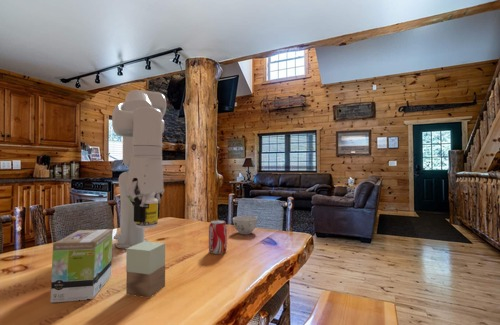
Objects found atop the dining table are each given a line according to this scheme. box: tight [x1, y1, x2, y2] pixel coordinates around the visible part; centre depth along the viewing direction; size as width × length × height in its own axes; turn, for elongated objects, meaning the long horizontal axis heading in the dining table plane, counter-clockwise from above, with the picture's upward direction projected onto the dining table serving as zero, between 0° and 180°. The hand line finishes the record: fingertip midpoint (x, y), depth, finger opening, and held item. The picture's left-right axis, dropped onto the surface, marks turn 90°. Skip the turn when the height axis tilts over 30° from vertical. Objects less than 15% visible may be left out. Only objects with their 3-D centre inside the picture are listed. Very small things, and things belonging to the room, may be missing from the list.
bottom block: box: [125, 264, 166, 299], centre depth 72 cm, size 7×7×6 cm
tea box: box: [49, 228, 113, 303], centre depth 73 cm, size 15×10×15 cm, turn 12°
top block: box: [125, 241, 166, 274], centre depth 72 cm, size 7×7×6 cm
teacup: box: [232, 215, 258, 235], centre depth 134 cm, size 15×12×8 cm
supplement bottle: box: [136, 191, 159, 229], centre depth 72 cm, size 5×5×10 cm
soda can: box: [208, 219, 228, 255], centre depth 104 cm, size 7×7×12 cm
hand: (147, 218), depth 72 cm, fingers closed on supplement bottle, 5 cm apart
